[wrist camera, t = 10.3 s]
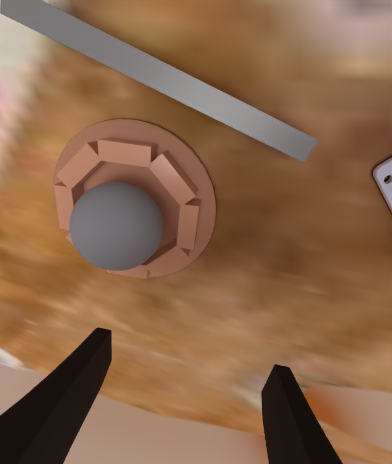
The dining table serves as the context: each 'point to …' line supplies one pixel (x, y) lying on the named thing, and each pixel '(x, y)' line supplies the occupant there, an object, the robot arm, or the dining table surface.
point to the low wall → (158, 75)
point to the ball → (116, 226)
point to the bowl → (142, 185)
